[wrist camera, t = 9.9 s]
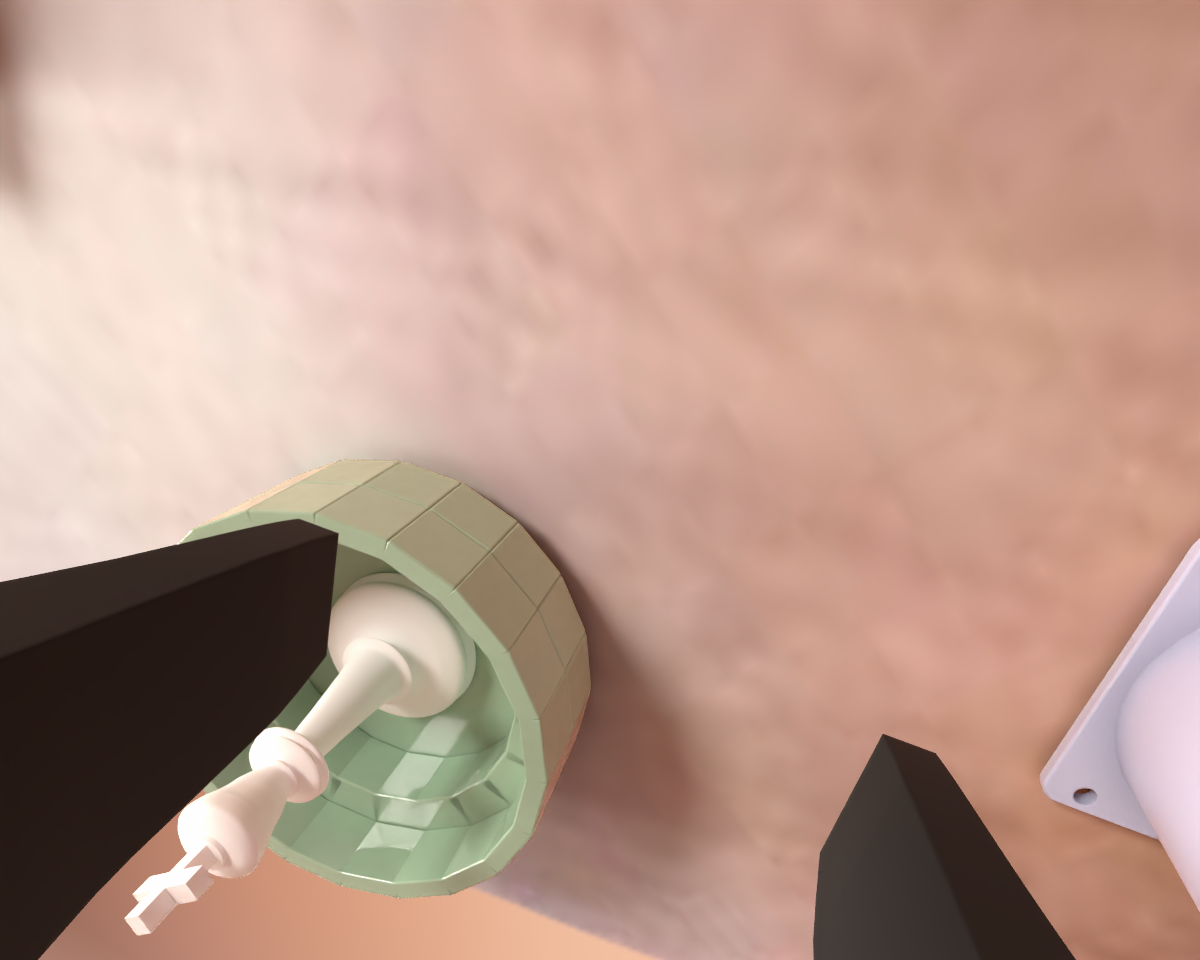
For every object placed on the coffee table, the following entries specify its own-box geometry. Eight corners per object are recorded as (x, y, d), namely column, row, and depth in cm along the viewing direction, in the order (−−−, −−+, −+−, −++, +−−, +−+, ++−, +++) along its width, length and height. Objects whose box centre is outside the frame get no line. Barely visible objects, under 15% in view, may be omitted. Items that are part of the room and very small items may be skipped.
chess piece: (504, 686, 22) (294, 1012, 13) (386, 720, 24) (132, 1025, 15) (426, 551, 21) (143, 801, 12) (310, 597, 23) (-10, 845, 14)
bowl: (639, 533, 20) (595, 617, 16) (549, 836, 25) (497, 959, 21) (259, 401, 22) (131, 445, 18) (245, 707, 27) (143, 796, 22)
